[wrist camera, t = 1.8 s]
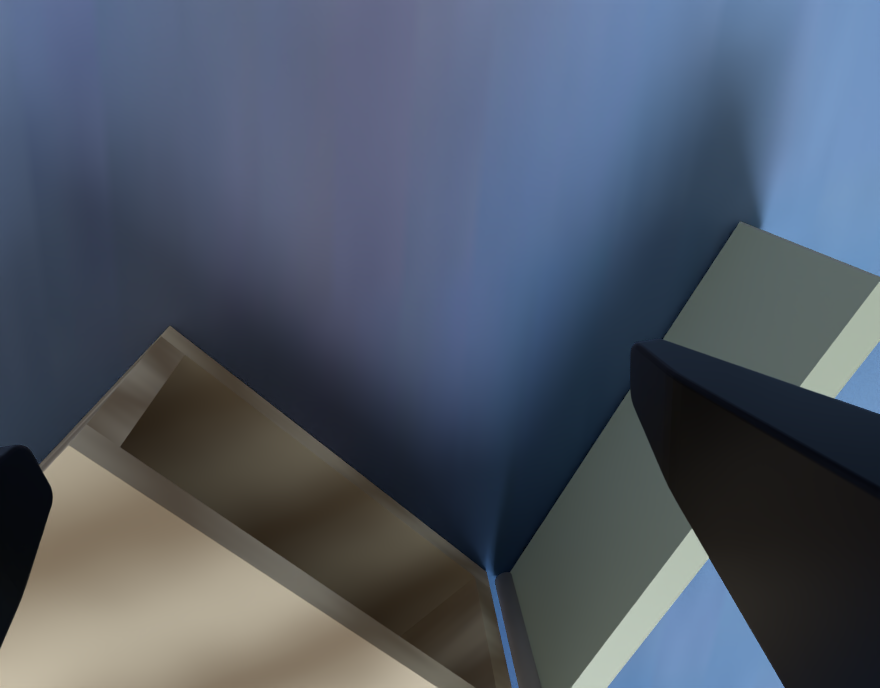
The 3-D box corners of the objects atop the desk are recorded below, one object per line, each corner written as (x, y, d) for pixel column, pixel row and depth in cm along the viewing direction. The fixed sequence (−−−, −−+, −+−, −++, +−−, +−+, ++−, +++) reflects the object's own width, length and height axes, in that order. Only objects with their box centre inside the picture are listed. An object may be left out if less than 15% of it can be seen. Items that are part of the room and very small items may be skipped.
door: (541, 600, 29) (587, 748, 23) (490, 584, 28) (522, 731, 22) (785, 246, 23) (941, 310, 17) (729, 215, 23) (868, 270, 16)
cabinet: (486, 572, 28) (523, 744, 21) (321, 702, 31) (303, 898, 23) (169, 325, 23) (68, 445, 15) (-4, 510, 25) (-164, 691, 18)
